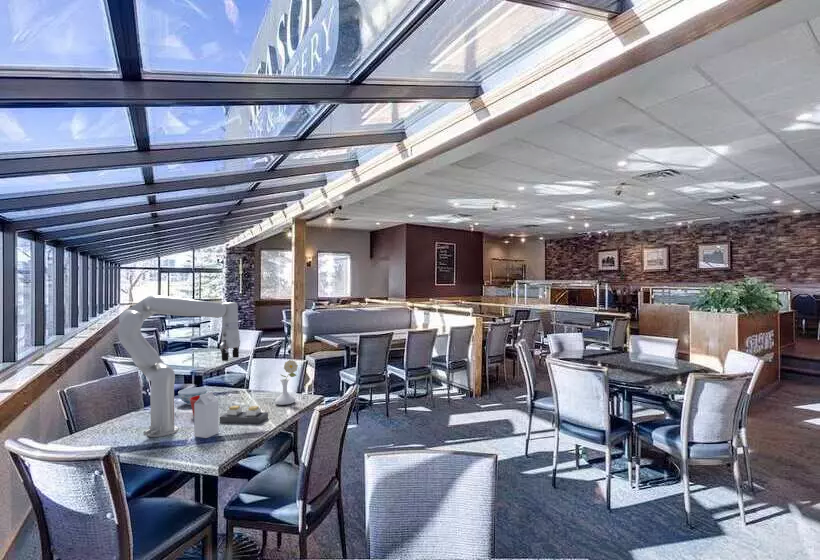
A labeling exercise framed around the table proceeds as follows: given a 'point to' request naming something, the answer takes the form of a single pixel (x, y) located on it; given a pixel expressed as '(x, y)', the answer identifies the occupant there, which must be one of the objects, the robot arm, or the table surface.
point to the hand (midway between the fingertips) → (230, 359)
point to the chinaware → (191, 393)
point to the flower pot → (194, 402)
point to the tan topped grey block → (234, 411)
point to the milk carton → (206, 416)
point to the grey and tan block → (253, 411)
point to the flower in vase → (285, 396)
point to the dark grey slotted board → (244, 418)
